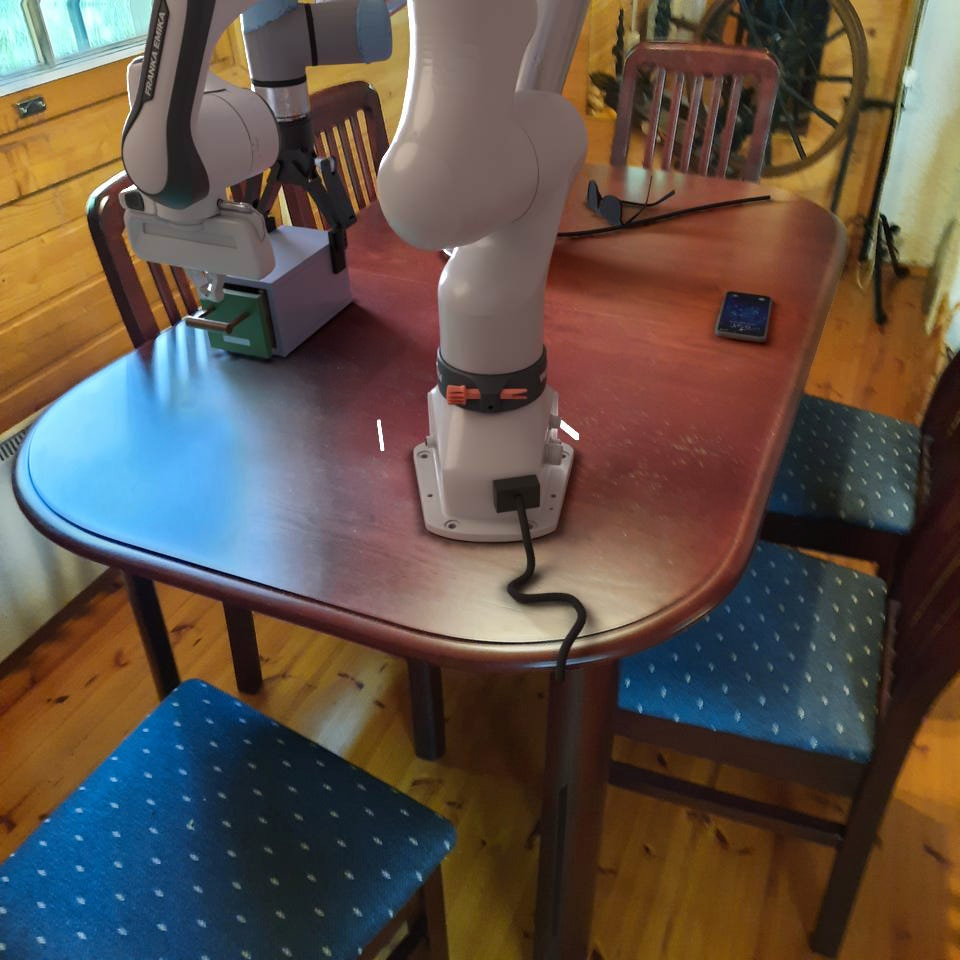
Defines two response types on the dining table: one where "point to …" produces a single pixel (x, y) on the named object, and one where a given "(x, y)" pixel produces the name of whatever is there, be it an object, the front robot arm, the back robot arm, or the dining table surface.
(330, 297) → the cabinet
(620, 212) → the sunglasses
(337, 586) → the dining table surface
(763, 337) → the smartphone
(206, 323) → the drawer
